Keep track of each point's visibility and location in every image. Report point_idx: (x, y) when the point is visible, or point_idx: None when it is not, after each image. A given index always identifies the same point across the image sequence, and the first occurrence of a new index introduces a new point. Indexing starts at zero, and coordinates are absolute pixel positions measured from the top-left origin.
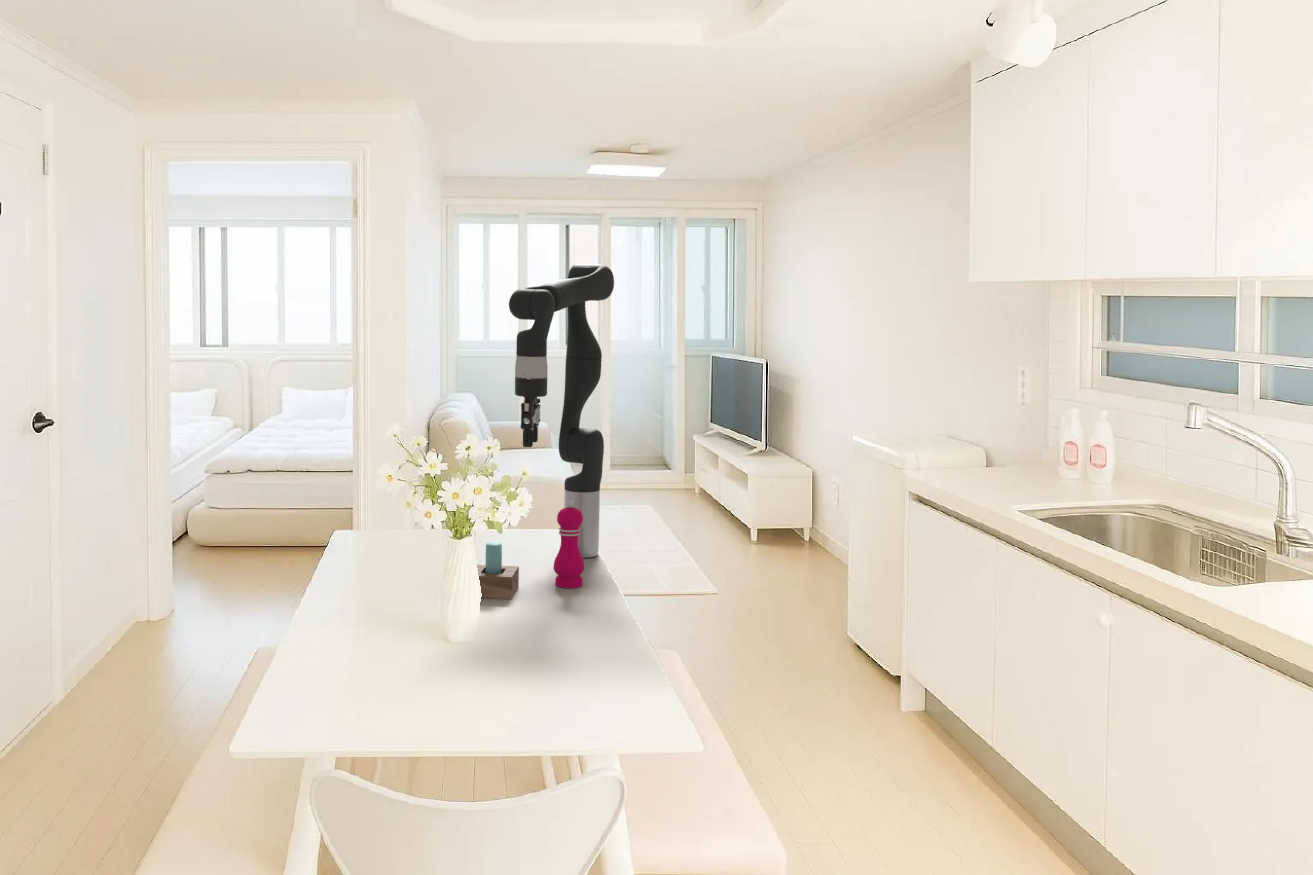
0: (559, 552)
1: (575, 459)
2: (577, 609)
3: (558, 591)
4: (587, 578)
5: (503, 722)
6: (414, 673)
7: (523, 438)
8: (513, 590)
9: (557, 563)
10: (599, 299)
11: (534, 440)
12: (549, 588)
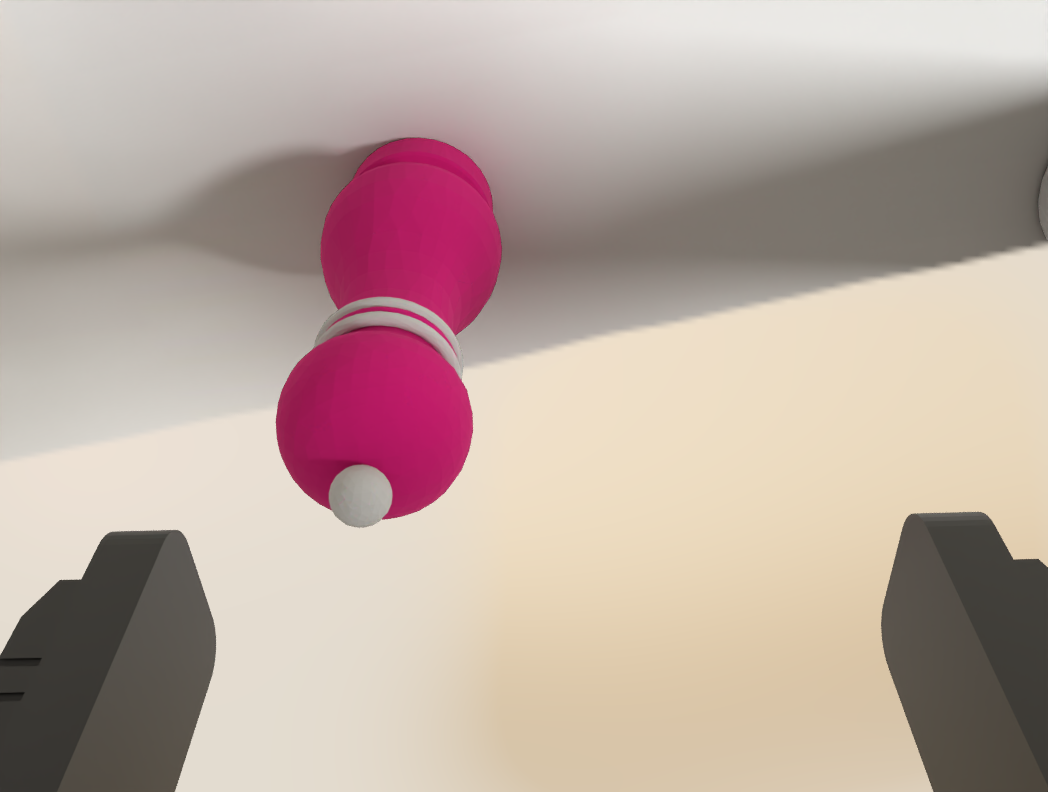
0: (357, 246)
1: None
2: (6, 298)
3: (282, 172)
4: (576, 275)
5: None
6: None
7: (45, 670)
8: None
9: (338, 211)
10: None
11: (896, 625)
12: (327, 117)
